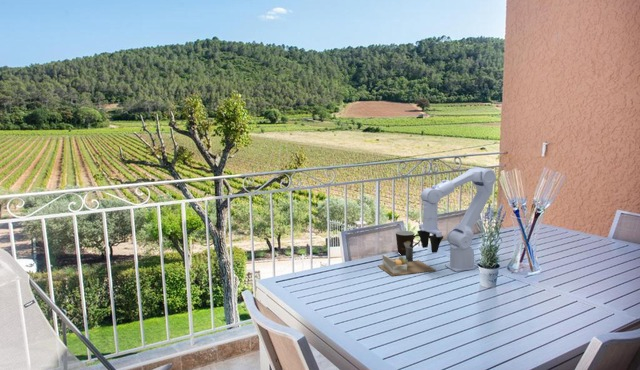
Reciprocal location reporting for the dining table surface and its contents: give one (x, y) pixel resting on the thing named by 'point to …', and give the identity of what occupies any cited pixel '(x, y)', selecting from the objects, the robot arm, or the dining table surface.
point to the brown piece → (403, 267)
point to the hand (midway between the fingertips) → (429, 249)
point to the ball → (398, 262)
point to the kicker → (407, 256)
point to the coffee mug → (405, 241)
